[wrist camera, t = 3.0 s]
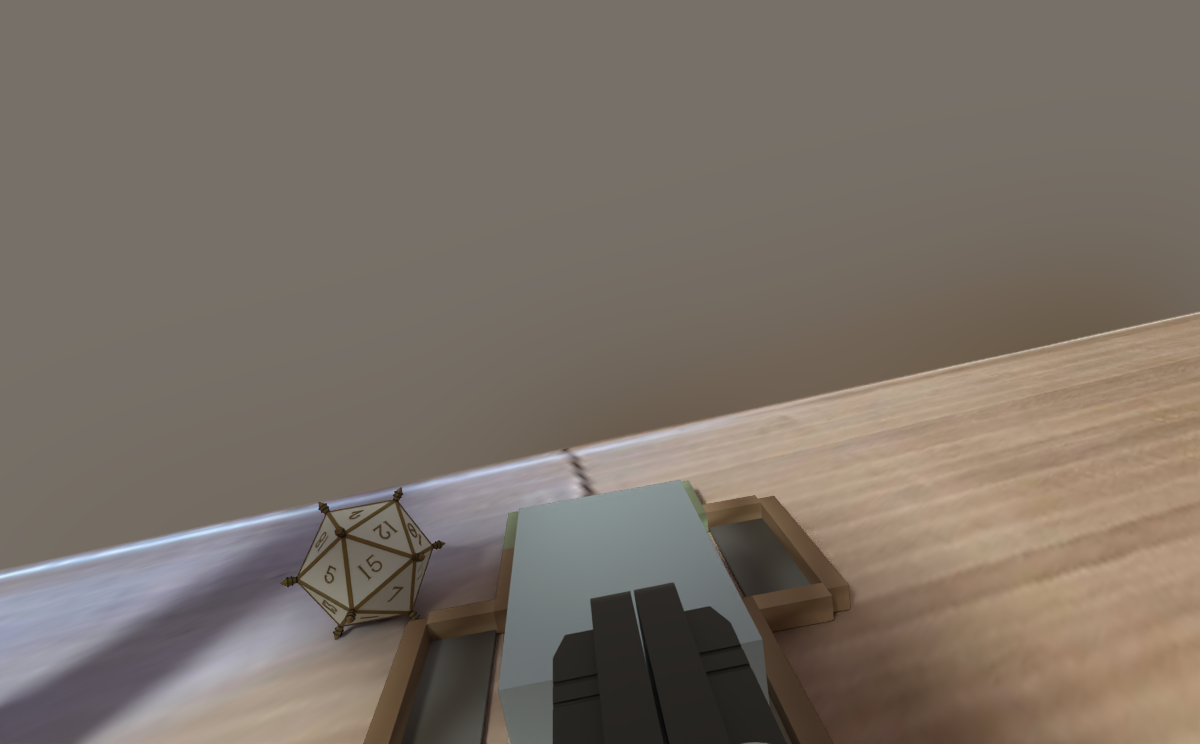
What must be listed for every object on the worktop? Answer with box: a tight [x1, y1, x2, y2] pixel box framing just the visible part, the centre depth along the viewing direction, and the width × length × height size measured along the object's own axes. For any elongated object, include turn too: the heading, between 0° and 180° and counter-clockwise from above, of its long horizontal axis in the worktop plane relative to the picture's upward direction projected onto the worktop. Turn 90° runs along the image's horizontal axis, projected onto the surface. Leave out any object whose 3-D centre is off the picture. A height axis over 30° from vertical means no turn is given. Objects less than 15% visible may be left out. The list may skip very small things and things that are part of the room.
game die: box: [280, 487, 445, 640], centre depth 38 cm, size 9×8×10 cm
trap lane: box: [363, 481, 850, 744], centre depth 33 cm, size 25×30×2 cm
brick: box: [498, 480, 770, 744], centre depth 25 cm, size 8×12×9 cm, turn 5°
